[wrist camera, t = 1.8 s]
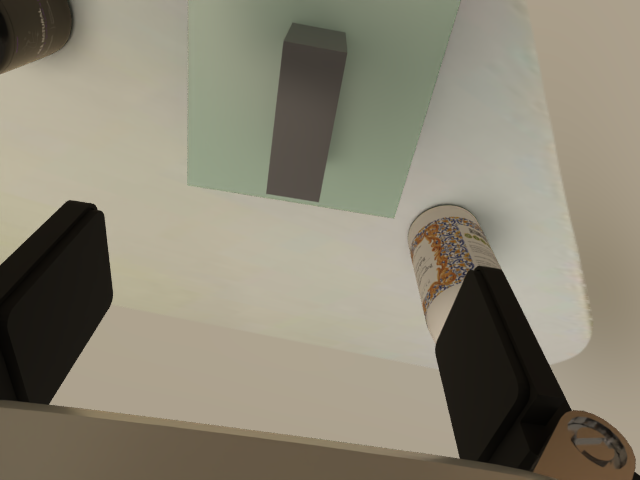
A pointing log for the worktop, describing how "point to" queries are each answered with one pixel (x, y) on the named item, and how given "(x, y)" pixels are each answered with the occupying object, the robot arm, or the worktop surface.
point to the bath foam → (445, 258)
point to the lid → (312, 97)
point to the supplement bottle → (31, 30)
